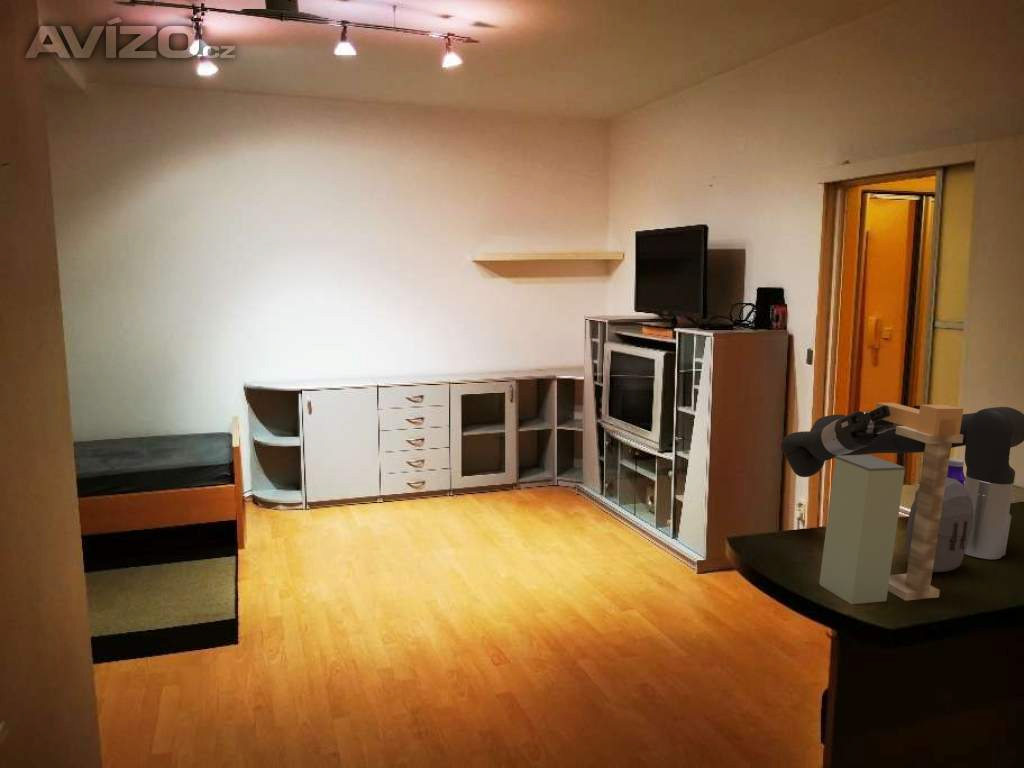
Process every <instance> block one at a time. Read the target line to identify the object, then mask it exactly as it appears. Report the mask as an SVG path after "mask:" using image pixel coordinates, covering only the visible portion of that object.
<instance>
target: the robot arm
mask: <svg viewBox="0 0 1024 768" xmlns="http://www.w3.org/2000/svg"><path fill="white" fill-rule="evenodd" d="M910 407H911V406H910ZM911 408H915V409H919V410H920V405H919V404H918V405H913V406H912V407H911ZM889 416H890V411H889V407H888V406H881V407H879V408H877V409H876V408H875V409H873V410H871V409H870V410H869V409H868V410H867V411H860V410H859V411H853V412H850V413H849V414H831V415H830V414H829V415H826V416H822V417H820V418H818V419H817V420H815V422H814V423H813V425H812V427H811V429H810V430H809V431H796V432H792V433H790V434H788V435H786V436H785V437H783V438H782V440H781V443H780V448H781V452H782V453H783V455H784V457H785V459H786V461H787V462H788V464H789V466H790V468H791V470H792V472H794V474H795V475H796V476H798V477H801V478H809V477H812V476H814V475H816V474H818V473H819V472H820V471H821V470H822V468H823V467H824V465H825V462H826V461H829V460H832V459H835V456H844V455H872V454H873V455H874V454H912V453H914V454H915V453H917V454H918V453H924V451H925V444H926V443H924V442H921V441H918V440H914V439H911V438H908V437H905V436H901V435H898V434H895V432H896V426H903V425H900V424H896V423H893V422H889V421H886V420H883V419H884V418H886V417H889ZM960 434H961V435H964V436H963V442H962V443H952V446H951V449H952V448H953V449H954V448H957V447H964V446H965V450H964V465H965V467H966V472H965V484H964V487H965V488H966V489H967V491H968V492H969V494H970V497H971V499H972V506H973V524H972V531H971V532H970V536H969V540H968V544H967V548H966V551H965V554H964V555H966V556H970V557H975V558H978V559H985V560H998V559H1001V558H1002V557H1003V556H1006V551H1007V546H1008V545H1007V544H1008V539H1009V532H1010V526H1011V521H1012V515H1011V514H1010V508H1011V504H1012V503H1011V501H1012V495H1013V489H1014V483H1015V478H1016V470H1015V469H1014V468H1013V467H1011V466H1010V455H1011V448H1013V447H1017V446H1019V445H1021V444H1022V443H1023V442H1024V413H1023V412H1022V411H1020V410H1018V409H1015V408H1013V407H1010V406H1009V407H1007V406H997V407H987V408H983V409H980V410H978V411H976V412H973V413H972V412H971V413H963V415H962V421H961V428H960Z"/></svg>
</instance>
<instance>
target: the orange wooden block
mask: <svg viewBox="0 0 1024 768" xmlns="http://www.w3.org/2000/svg"><path fill="white" fill-rule="evenodd" d="M875 403H876V404H875V409H877V408H879V407H881V406H888V407H889V411H890V416H889V417H886V418H884V419H883V420H886V421H889V422H893V423H896V424H900V425H903V426H907V427H910V428H914V429H917V431H920V432H923V433H926V434H930V435H933V436H942V435H959V434H960V428H961V421H962V415H963V414H964V408H962V407H957V406H955V405H954V406H953V405H949V404H946V403H945V404H920V405H919V406H920V410H919V409H915V408H911V406H907V405H903V404H900V403H896V402H875Z"/></svg>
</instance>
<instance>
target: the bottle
mask: <svg viewBox="0 0 1024 768" xmlns="http://www.w3.org/2000/svg"><path fill="white" fill-rule="evenodd" d="M964 466H965V460H964V459H963V460H962V459H959V458H954V457H950V459H949V465H948V472H947V477H948V478H952V479H956V480H957V481H959V482H960V483H961V484H963V485H964V481H965V478H966V475H965V473H964Z"/></svg>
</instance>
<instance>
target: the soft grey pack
mask: <svg viewBox="0 0 1024 768" xmlns="http://www.w3.org/2000/svg"><path fill="white" fill-rule="evenodd" d="M918 492H919V487H918V488H917V490H915V495H914V500H913V502H912V504H911V507H910V510H909V515H908V520H907V523H906V531H905V532H906V534H905V537H906V538H905V550H906V551H905V552H906V554H905V555H906V562H907V563H908V561H909V554H910V548H911V541H912V534H913V527H914V520H915V513H916V506H917V499H918ZM972 524H973V506H972V499H971V497H970V494H969V492H968V491H967V489H966V488H965V487H964V485H963V484H961V483H960V482H959V481H957V480H956V479H952V478H948V477H947V479H946V485H945V492H944V499H943V505H942V512H941V519H940V525H939V532H938V538H937V545H936V552H935V558H934V565H933V572H932V573H943V572H949V571H953V570H956V569H957V568H958V567H960V566H961V565H962V561H963V559H964V556H965V555H966V554H965V551H966V548H967V544H968V540H969V536H970V532H971V531H972Z"/></svg>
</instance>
